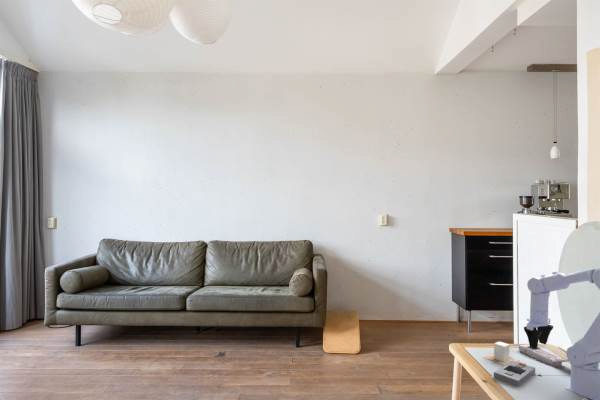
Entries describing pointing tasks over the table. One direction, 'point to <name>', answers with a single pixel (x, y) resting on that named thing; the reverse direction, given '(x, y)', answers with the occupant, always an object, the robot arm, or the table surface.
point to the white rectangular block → (501, 351)
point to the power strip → (514, 373)
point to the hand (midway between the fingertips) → (538, 345)
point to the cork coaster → (491, 357)
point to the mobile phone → (541, 355)
